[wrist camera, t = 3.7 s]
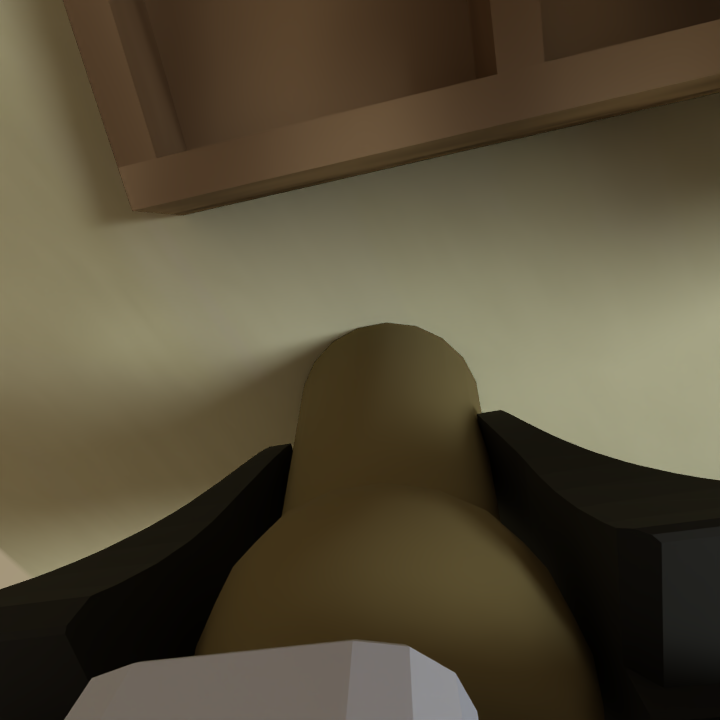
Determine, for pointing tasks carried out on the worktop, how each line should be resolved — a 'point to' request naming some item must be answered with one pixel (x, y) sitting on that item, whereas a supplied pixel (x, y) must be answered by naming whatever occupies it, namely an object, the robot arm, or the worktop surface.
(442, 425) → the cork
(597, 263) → the worktop surface
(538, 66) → the caddy
